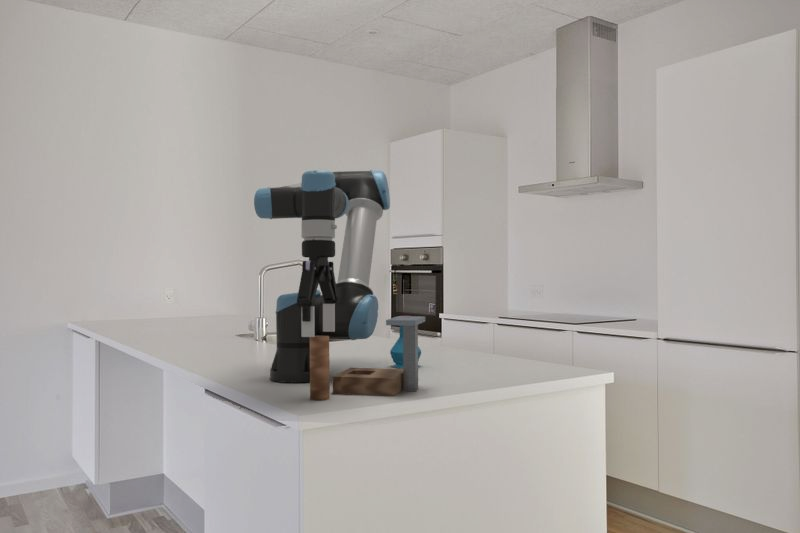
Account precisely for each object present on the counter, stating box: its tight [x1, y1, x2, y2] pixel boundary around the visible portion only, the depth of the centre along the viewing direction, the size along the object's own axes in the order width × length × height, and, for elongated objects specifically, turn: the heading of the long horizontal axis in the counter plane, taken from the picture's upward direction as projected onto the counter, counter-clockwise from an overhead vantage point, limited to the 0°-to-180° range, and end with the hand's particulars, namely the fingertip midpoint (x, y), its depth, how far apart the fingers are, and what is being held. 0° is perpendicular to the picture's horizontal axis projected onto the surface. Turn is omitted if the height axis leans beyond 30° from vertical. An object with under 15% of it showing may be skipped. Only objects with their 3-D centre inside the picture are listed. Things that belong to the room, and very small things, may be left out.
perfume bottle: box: [389, 325, 422, 369], centre depth 198 cm, size 9×9×15 cm
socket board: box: [332, 367, 403, 397], centre depth 162 cm, size 15×14×4 cm
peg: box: [309, 336, 331, 401], centre depth 151 cm, size 4×4×14 cm
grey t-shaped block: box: [385, 315, 426, 392], centre depth 161 cm, size 7×12×17 cm, turn 167°
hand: (318, 334), depth 151 cm, fingers open, 13 cm apart
